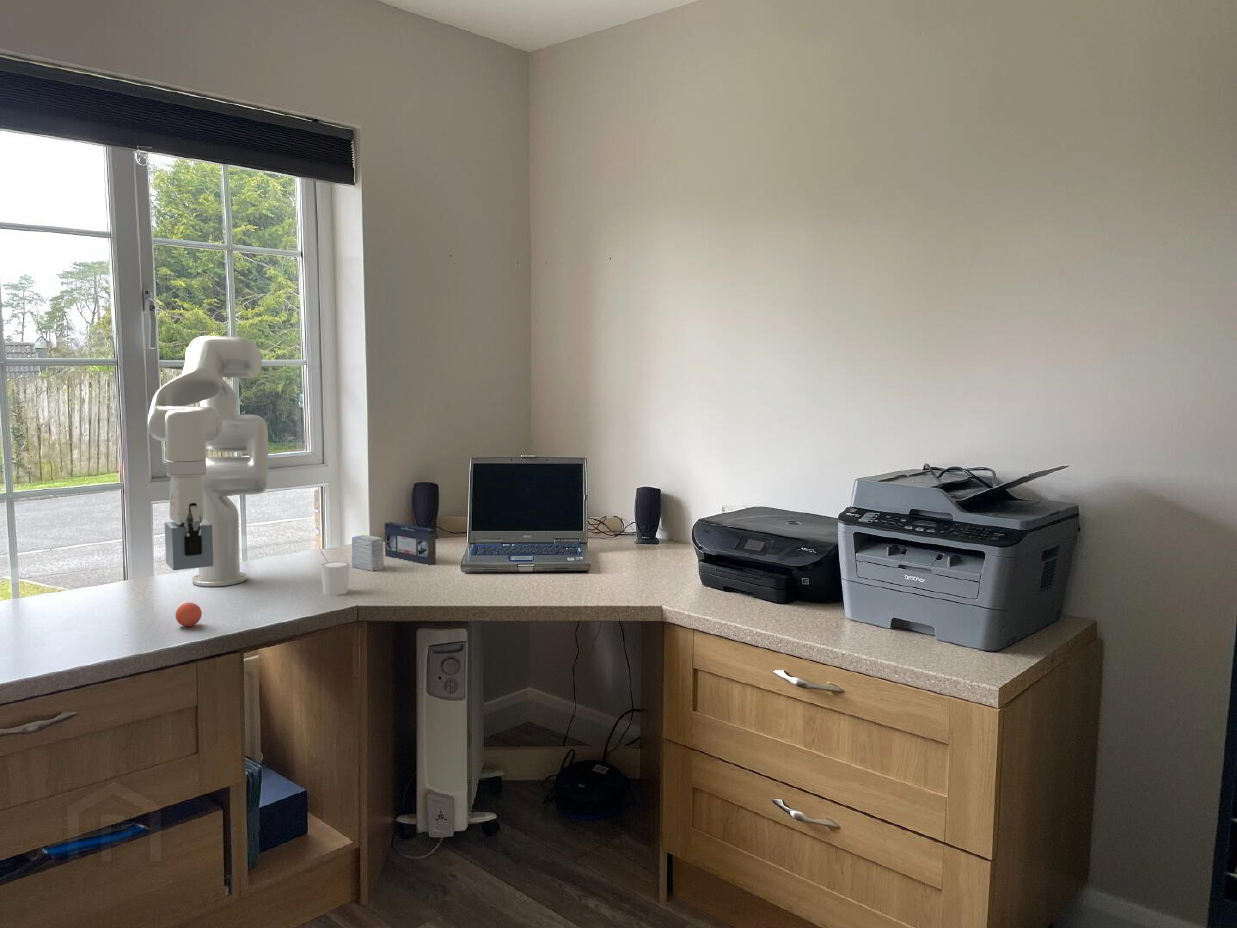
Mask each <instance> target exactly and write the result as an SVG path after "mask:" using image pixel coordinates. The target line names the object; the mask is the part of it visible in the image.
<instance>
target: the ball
mask: <svg viewBox="0 0 1237 928" xmlns="http://www.w3.org/2000/svg"><path fill="white" fill-rule="evenodd" d="M202 612H203V611H202V609H201V607H200V606H199V605H198V604H196V603H194V602H184V603H182V604H181V605H180V606H178V607H177V609H176V611H175V619H176V622H177V623H178V624H179V625H181V626H183V627H193V626H195V625H196V624H198V623H199V622H200V621H201V619H202Z"/></svg>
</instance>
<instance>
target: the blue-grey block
mask: <svg viewBox="0 0 1237 928" xmlns="http://www.w3.org/2000/svg"><path fill="white" fill-rule="evenodd" d="M187 522H188V521H187ZM200 526H201V527H200V528H201V536H202V554H201V555H192V556H186V555H185V546H184V537H185V536H186V533H185V526H184V523H182V524H181V525H178V524H177V523H175V522H174V521H166V522H165V521H164V541H165V542H164V545H165V546H164V547H165V564H166V565H167V566H168V567H169V568H170V569H171V570H172V571H180V570H181V571H182V570H190V569H191V570H192V569H197V568H198V569H199V568H200V567H209V566H213V532H212V524H210V523H209V522H207V521H206V520H204V519H203V521H202V522H201V523H200ZM189 527H190V526H189Z"/></svg>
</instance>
